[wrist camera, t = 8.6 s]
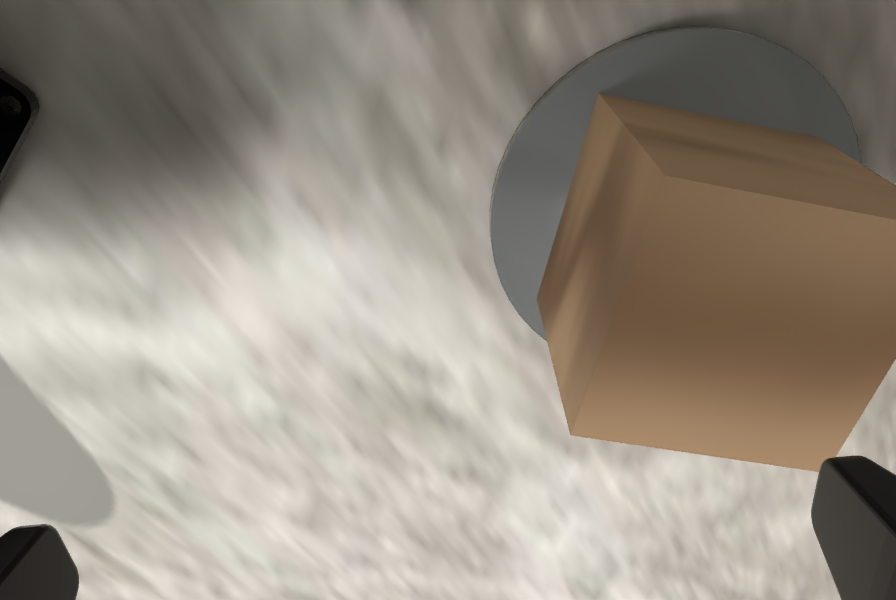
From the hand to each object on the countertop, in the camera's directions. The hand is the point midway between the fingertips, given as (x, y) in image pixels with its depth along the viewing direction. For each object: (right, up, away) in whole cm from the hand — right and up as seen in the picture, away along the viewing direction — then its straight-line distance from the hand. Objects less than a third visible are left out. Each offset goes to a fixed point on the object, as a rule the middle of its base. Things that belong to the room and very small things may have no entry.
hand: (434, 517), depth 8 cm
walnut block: (+6, +5, +11) cm, 14 cm away
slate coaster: (+6, +5, +12) cm, 14 cm away
